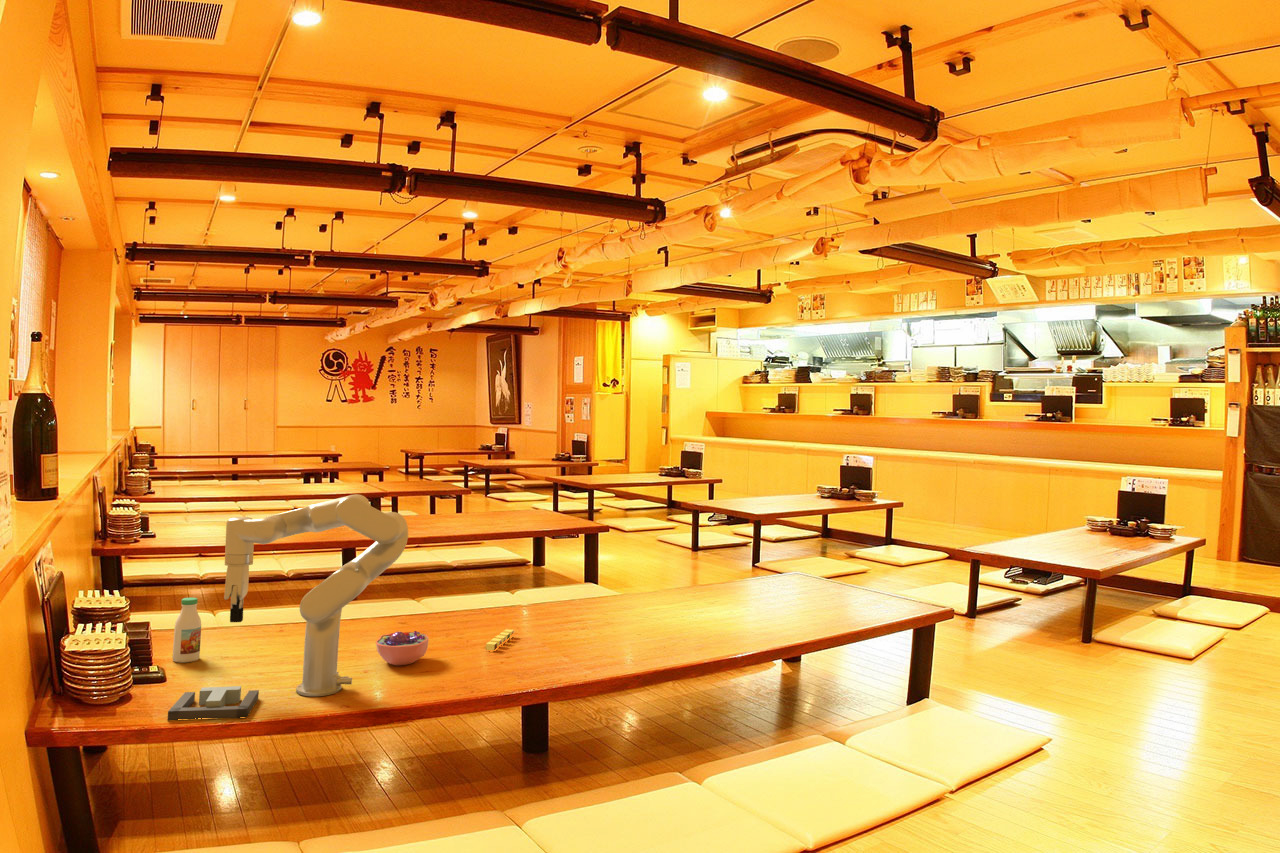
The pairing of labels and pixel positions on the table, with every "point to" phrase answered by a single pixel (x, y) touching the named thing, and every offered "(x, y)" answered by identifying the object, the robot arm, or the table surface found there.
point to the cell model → (402, 647)
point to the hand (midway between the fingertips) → (236, 621)
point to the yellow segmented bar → (499, 639)
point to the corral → (211, 708)
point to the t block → (219, 696)
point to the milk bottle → (187, 633)
